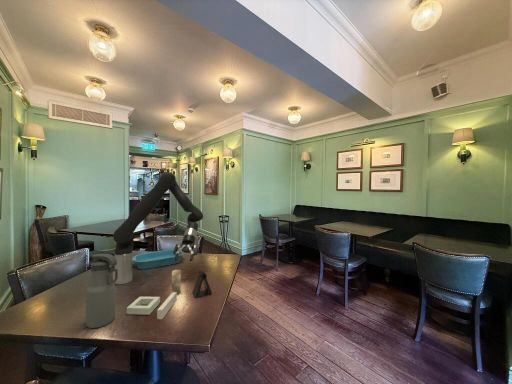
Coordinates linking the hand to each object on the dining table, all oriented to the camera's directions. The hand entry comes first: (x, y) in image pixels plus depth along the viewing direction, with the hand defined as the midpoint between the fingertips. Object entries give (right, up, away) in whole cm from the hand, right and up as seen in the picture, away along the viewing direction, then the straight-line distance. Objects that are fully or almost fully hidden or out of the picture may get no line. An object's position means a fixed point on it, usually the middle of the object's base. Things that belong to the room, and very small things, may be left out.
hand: (183, 260), depth 123 cm
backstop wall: (+1, -14, -25) cm, 29 cm away
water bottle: (-22, -14, -35) cm, 44 cm away
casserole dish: (-31, -15, +38) cm, 51 cm away
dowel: (0, -14, -10) cm, 17 cm away
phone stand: (+14, -15, -10) cm, 22 cm away
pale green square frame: (-10, -14, -25) cm, 30 cm away
